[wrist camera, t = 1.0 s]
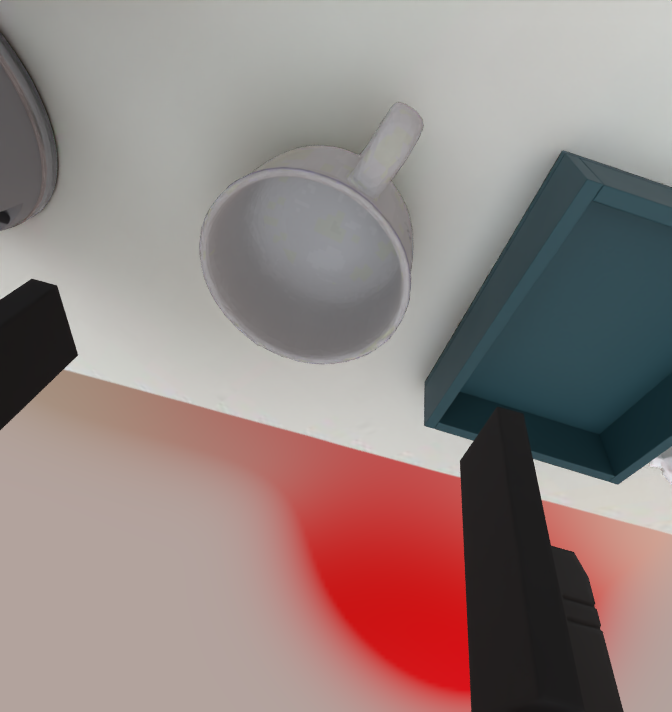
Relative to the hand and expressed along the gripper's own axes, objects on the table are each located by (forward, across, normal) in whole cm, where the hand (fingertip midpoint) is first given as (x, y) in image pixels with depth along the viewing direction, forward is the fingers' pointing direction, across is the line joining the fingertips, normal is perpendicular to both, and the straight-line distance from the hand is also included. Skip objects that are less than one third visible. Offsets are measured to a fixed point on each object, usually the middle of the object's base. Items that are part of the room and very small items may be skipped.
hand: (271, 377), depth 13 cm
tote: (+17, +17, -5) cm, 25 cm away
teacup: (+17, 0, -1) cm, 17 cm away
